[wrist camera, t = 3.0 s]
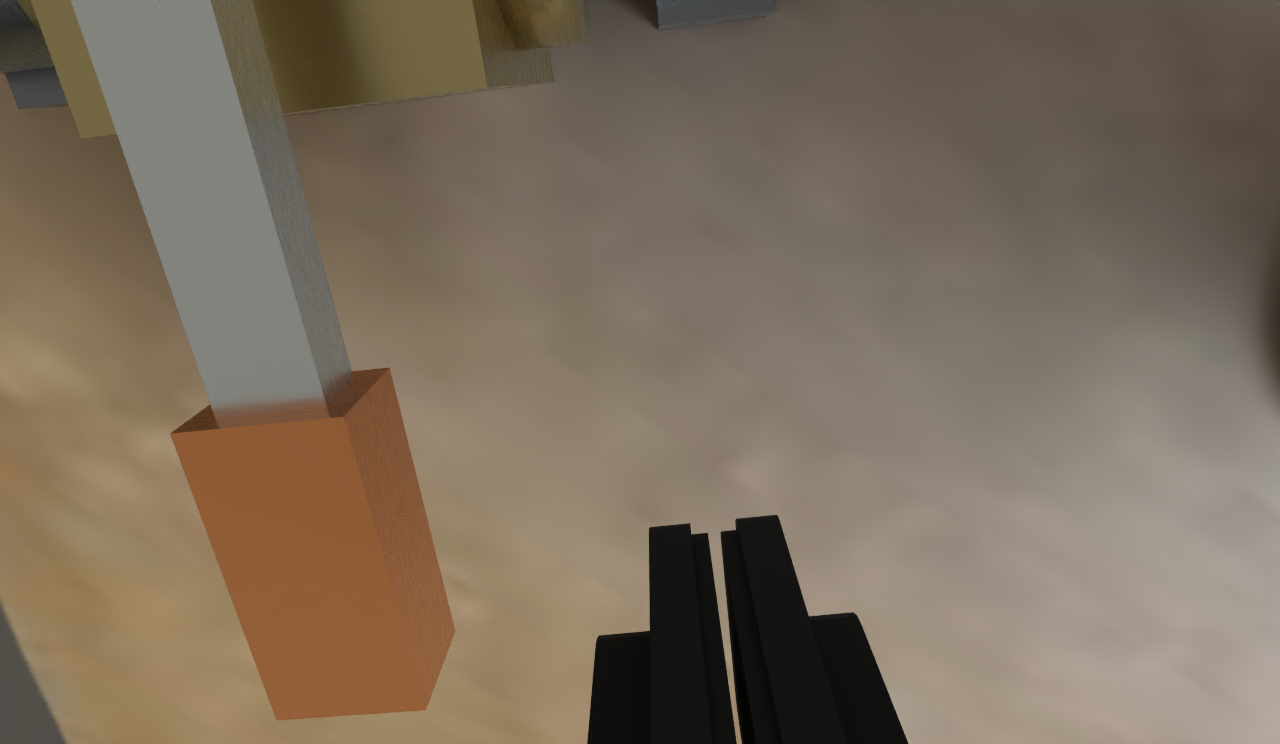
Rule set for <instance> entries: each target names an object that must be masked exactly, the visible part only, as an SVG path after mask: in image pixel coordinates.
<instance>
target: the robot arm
mask: <svg viewBox="0 0 1280 744" xmlns="http://www.w3.org/2000/svg"><path fill="white" fill-rule="evenodd" d="M735 522H736V530H732V531H722V532H721V544H722V554H723V565H724V576H725V587H726V597H727V608H728V619H729V630H730V641H731V651H732V662H733V673H734V684H735V694H736V703H737V712H738V719H739V726H740V733H741V740H742V744H908V742H907V739H906V736H905V734H904V731H903V729H902V726H901V724H900V721H899V719H898V716H897V714H896V711H895V709H894V706H893V704H892V701H891V698H890V696H889V693H888V691H887V688H886V686H885V683H884V681H883V678H882V676H881V673H880V671H879V668H878V665H877V663H876V660H875V658H874V655H873V653H872V650H871V648H870V645H869V643H868V640H867V638H866V635H865V633H864V630H863V627H862V625H861V623H860V621H859V619H858V617H857V615H856V614H855V613H854V612H852V613H842V614H831V615H820V616H808V613H807V609H806V606H805V603H804V600H803V596H802V593H801V590H800V586H799V583H798V580H797V576H796V573H795V570H794V567H793V563H792V560H791V557H790V553H789V550H788V547H787V543H786V540H785V537H784V534H783V530H782V527H781V524H780V520H779V518H778V516H777V515H771V516H760V517H750V518H740V519H736V521H735ZM649 581H650V631H645V632H634V633H623V634H612V635H601V636H598V638H597V642H596V649H595V661H594V672H593V684H592V696H591V708H590V719H589V731H588V743H587V744H737V743H736V736H735V728H734V721H733V714H732V706H731V699H730V692H729V685H728V677H727V670H726V663H725V656H724V648H723V641H722V634H721V627H720V619H719V612H718V605H717V598H716V590H715V583H714V576H713V569H712V561H711V554H710V547H709V540H708V533H702V534H691V528H690V523H689V524H679V525H668V526H658V527H650V528H649Z"/></svg>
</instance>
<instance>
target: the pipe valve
mask: <svg viewBox="0 0 1280 744" xmlns="http://www.w3.org/2000/svg"><path fill="white" fill-rule="evenodd" d="M252 2H253V5H254V9H255V13H256V16H257V20H258V24H259V28H260V31H261V35H262V39H263V42H264V46H265V50H266V54H267V57H268V61H269V65H270V68H271V72H272V76H273V80H274V83H275V87H276V91H277V94H278V98H279V102H280V106H281V109H282V113H283V116H284V115H293V114H301V113H309V112H317V111H325V110H333V109H341V108H349V107H357V106H365V105H373V104H380V103H388V102H396V101H404V100H412V99H420V98H428V97H436V96H444V95H452V94H460V93H468V92H476V91H484V90H492V89H500V88H508V87H516V86H524V85H531V84H539V83H547V82H553V78H552V72H551V65H550V58H549V51H548V47H554V46H562V45H570V44H578V43H585V42H587V41H588V37H589V0H252ZM656 3H657V14H658V24H659V31H661V30H668V29H676V28H684V27H692V26H699V25H707V24H715V23H723V22H730V21H738V20H746V19H754V18H761V17H766V16H767V15H769V14H771V13H773V12H775V11H776V0H656ZM0 73H5V74H6V77H7V79H8V82H9V84H10V87H11V90H12V92H13V95H14V97H15V100H16V103H17V105H18V108H19V109H24V108H42V107H59V106H69V108H70V110H71V113H72V116H73V119H74V121H75V124H76V127H77V130H78V133H79V135H80V138H81V139H84V138H93V137H101V136H110V135H117V133H116V130H115V127H114V124H113V121H112V118H111V115H110V112H109V110H108V107H107V104H106V101H105V98H104V95H103V92H102V89H101V86H100V84H99V81H98V78H97V75H96V72H95V69H94V66H93V63H92V60H91V57H90V55H89V52H88V49H87V46H86V43H85V40H84V37H83V34H82V31H81V28H80V26H79V23H78V20H77V17H76V14H75V11H74V8H73V5H72V2H71V0H0Z"/></svg>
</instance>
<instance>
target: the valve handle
mask: <svg viewBox="0 0 1280 744" xmlns="http://www.w3.org/2000/svg"><path fill="white" fill-rule="evenodd" d="M71 2H72V5H73V8H74V11H75V14H76V17H77V20H78V23H79V26H80V28H81V31H82V34H83V37H84V40H85V43H86V46H87V49H88V52H89V55H90V57H91V60H92V63H93V66H94V69H95V72H96V75H97V78H98V81H99V84H100V86H101V89H102V92H103V95H104V98H105V101H106V104H107V107H108V110H109V112H110V115H111V118H112V121H113V124H114V127H115V130H116V133H117V136H118V139H119V141H120V144H121V147H122V150H123V153H124V156H125V159H126V162H127V165H128V167H129V170H130V173H131V176H132V179H133V182H134V185H135V188H136V191H137V194H138V196H139V199H140V202H141V205H142V208H143V211H144V214H145V217H146V220H147V223H148V225H149V228H150V231H151V234H152V237H153V240H154V243H155V246H156V249H157V251H158V254H159V257H160V260H161V263H162V266H163V269H164V272H165V275H166V278H167V280H168V283H169V286H170V289H171V292H172V295H173V298H174V301H175V304H176V307H177V309H178V312H179V315H180V318H181V321H182V324H183V327H184V330H185V333H186V335H187V338H188V341H189V344H190V347H191V350H192V353H193V356H194V359H195V362H196V364H197V367H198V370H199V373H200V376H201V379H202V382H203V385H204V388H205V390H206V393H207V396H208V399H209V402H210V405H209V406H207V407H206V408H205V409H203V410H202V411H200V412H199V413H198V414H196V415H195V416H194V417H192V418H191V419H190V420H188V421H187V422H185V423H184V424H183V425H181V426H180V427H179V428H177V429H176V430H175V431H173V432H172V433H170V434H171V437H172V440H173V442H174V445H175V448H176V450H177V453H178V456H179V459H180V461H181V464H182V467H183V469H184V472H185V475H186V477H187V480H188V483H189V485H190V488H191V491H192V494H193V496H194V499H195V502H196V504H197V507H198V510H199V512H200V515H201V518H202V520H203V523H204V526H205V529H206V531H207V534H208V537H209V539H210V542H211V545H212V547H213V550H214V553H215V556H216V558H217V561H218V564H219V566H220V569H221V572H222V574H223V577H224V580H225V582H226V585H227V588H228V591H229V593H230V596H231V599H232V601H233V604H234V607H235V609H236V612H237V615H238V617H239V620H240V623H241V626H242V628H243V631H244V634H245V636H246V639H247V642H248V644H249V647H250V650H251V653H252V655H253V658H254V661H255V663H256V666H257V669H258V671H259V674H260V677H261V679H262V682H263V685H264V688H265V690H266V693H267V696H268V698H269V701H270V704H271V706H272V709H273V712H274V715H275V717H276V720H289V719H303V718H318V717H332V716H347V715H361V714H376V713H390V712H405V711H419V710H426V708H427V705H428V703H429V700H430V697H431V695H432V692H433V689H434V687H435V684H436V681H437V679H438V676H439V673H440V671H441V668H442V665H443V663H444V660H445V657H446V655H447V652H448V649H449V647H450V644H451V641H452V639H453V636H454V633H455V628H454V624H453V620H452V616H451V612H450V608H449V604H448V600H447V596H446V592H445V588H444V584H443V580H442V576H441V572H440V568H439V564H438V560H437V556H436V552H435V548H434V544H433V540H432V536H431V532H430V528H429V524H428V520H427V516H426V512H425V508H424V504H423V500H422V496H421V492H420V488H419V484H418V480H417V476H416V472H415V468H414V464H413V460H412V456H411V452H410V448H409V444H408V440H407V436H406V432H405V428H404V424H403V420H402V416H401V412H400V408H399V404H398V400H397V396H396V392H395V388H394V384H393V380H392V376H391V372H390V368H383V369H373V370H363V371H353V372H352V370H351V366H350V362H349V358H348V355H347V351H346V347H345V344H344V340H343V336H342V332H341V329H340V325H339V321H338V318H337V314H336V310H335V306H334V303H333V299H332V295H331V291H330V288H329V284H328V280H327V277H326V273H325V269H324V265H323V262H322V258H321V254H320V251H319V247H318V243H317V239H316V236H315V232H314V228H313V225H312V221H311V217H310V213H309V210H308V206H307V202H306V199H305V195H304V191H303V187H302V184H301V180H300V176H299V173H298V169H297V165H296V161H295V158H294V154H293V150H292V147H291V143H290V139H289V135H288V132H287V128H286V124H285V120H284V117H283V113H282V109H281V106H280V102H279V98H278V94H277V91H276V87H275V83H274V80H273V76H272V72H271V68H270V65H269V61H268V57H267V54H266V50H265V46H264V42H263V39H262V35H261V31H260V28H259V24H258V20H257V16H256V13H255V9H254V5H253V2H252V0H71Z"/></svg>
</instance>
